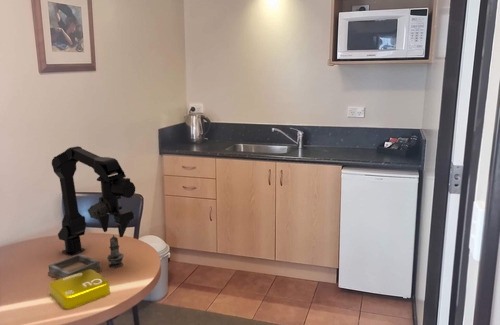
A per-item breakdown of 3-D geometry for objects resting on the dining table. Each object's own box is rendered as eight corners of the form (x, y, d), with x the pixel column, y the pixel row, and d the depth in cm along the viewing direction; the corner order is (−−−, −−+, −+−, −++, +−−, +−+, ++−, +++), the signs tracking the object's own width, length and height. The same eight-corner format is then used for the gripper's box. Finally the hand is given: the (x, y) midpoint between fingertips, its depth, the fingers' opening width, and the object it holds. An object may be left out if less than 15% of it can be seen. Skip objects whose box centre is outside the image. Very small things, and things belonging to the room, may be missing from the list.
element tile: (92, 279, 156) (91, 266, 155) (112, 294, 145) (111, 281, 144) (48, 294, 146) (47, 281, 145) (66, 312, 135) (64, 297, 134)
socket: (48, 275, 158) (47, 265, 158) (80, 262, 169) (79, 253, 168) (69, 284, 151) (68, 274, 150) (101, 270, 161) (100, 261, 160)
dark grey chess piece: (118, 260, 170) (115, 231, 167) (127, 264, 166) (125, 234, 164) (104, 265, 165) (101, 235, 163) (113, 270, 162) (111, 239, 159)
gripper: (74, 194, 159) (78, 235, 162) (107, 203, 148) (111, 247, 151) (101, 187, 168) (104, 226, 171) (133, 195, 157) (136, 237, 160)
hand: (113, 234), depth 163 cm, fingers open, 9 cm apart
